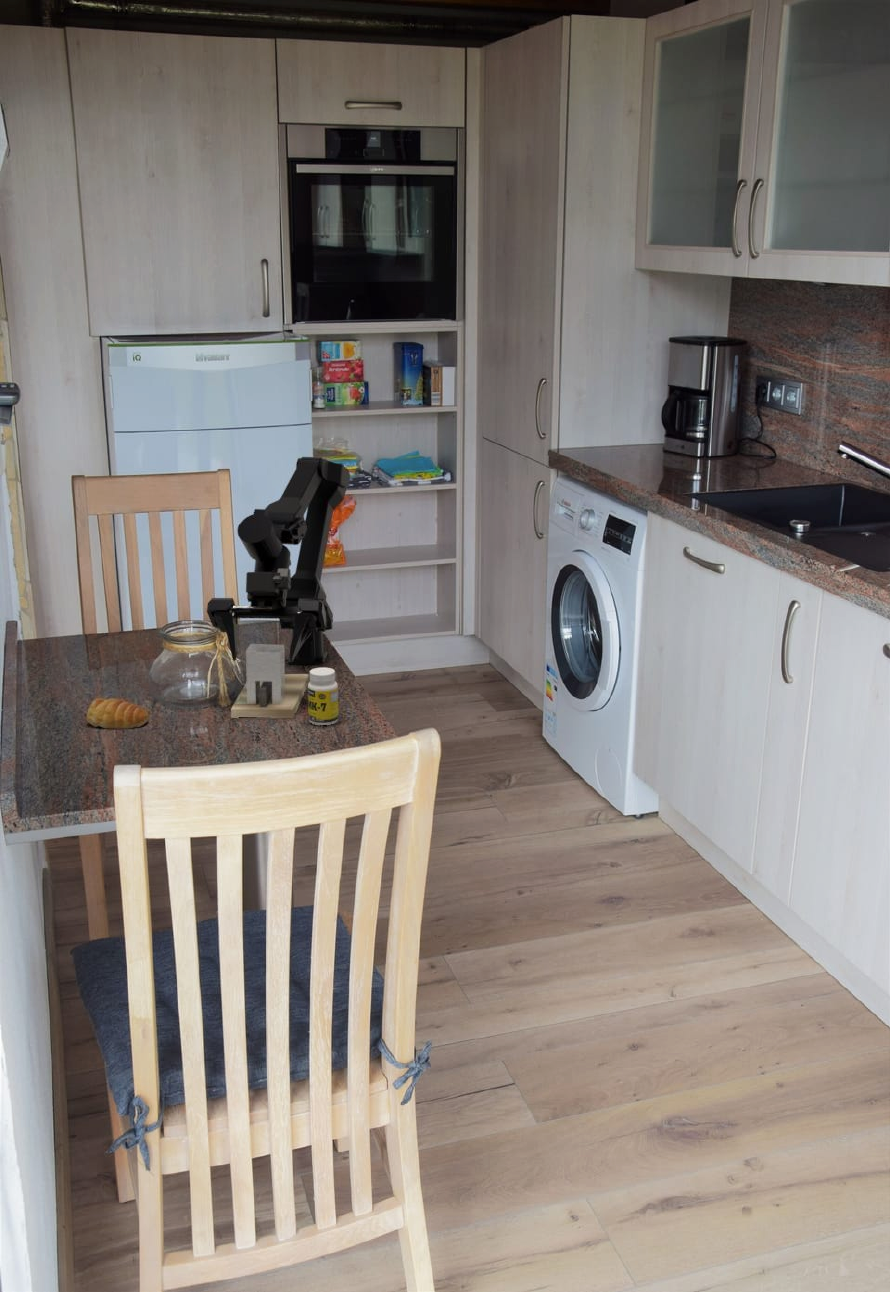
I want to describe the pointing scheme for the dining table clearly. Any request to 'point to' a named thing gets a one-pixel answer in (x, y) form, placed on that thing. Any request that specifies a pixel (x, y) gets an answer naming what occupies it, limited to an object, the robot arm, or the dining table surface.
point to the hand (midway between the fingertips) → (262, 659)
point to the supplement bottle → (322, 697)
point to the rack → (264, 707)
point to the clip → (265, 671)
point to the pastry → (116, 714)
